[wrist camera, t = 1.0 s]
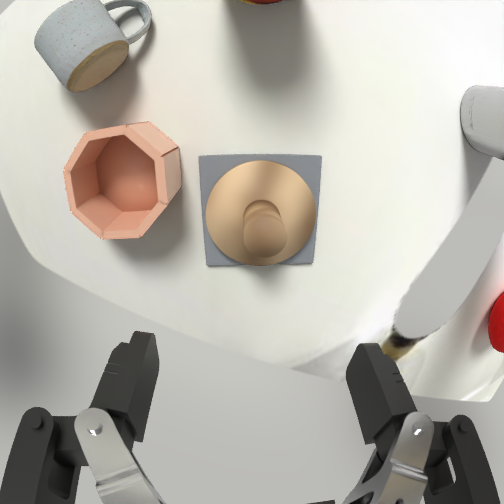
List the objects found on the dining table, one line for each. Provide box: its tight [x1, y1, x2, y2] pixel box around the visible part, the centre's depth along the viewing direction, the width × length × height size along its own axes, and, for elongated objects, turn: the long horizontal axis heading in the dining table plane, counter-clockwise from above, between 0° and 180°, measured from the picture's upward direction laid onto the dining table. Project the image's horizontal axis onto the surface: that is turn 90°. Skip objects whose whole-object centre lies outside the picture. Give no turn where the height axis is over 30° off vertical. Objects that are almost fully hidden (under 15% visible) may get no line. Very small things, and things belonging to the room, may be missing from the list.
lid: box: [206, 160, 316, 266], centre depth 26 cm, size 11×11×6 cm
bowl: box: [63, 122, 182, 239], centre depth 24 cm, size 10×10×6 cm
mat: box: [199, 154, 322, 265], centre depth 29 cm, size 12×12×1 cm
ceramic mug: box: [34, 0, 152, 92], centre depth 16 cm, size 11×8×8 cm
